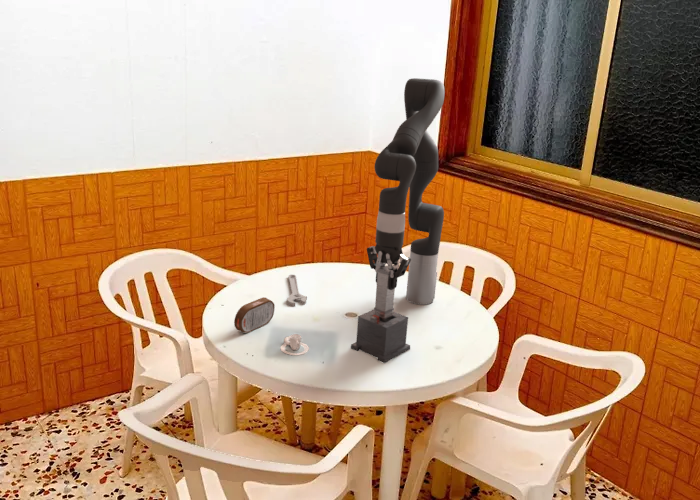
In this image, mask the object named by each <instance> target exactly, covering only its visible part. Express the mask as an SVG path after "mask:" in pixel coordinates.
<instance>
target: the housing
mask: <svg viewBox="0 0 700 500" xmlns="http://www.w3.org/2000/svg"><path fill="white" fill-rule="evenodd" d="M374 314H375V310H374V308H373V309H371V310H369V311H366V312H364V313H362V314H360V315H358V316H357V329H356V342H354V343H352V344H351V345H350V348H351V350H354V351H357V352H358V351H361V352H363V353H365V354H368V355H370V356H372V357H375V358H376V359H377V362H380V363H382V364H386V363H388V362H390V361H391V360H393V359H395V358H397V357H398V356H401V355H402V354H404V353H406V352H408V351H410V350H411V345H410V344H408V343H406V342H407V333H408V325H409V324H408V323H409V317H408V316H406V315H403V314H401V313H398V312H396V311H393V317H392V320H390V321H388V322H382V321H380V320H379V316H377V315H374Z"/></svg>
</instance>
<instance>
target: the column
mask: <svg viewBox="0 0 700 500" xmlns="http://www.w3.org/2000/svg"><path fill="white" fill-rule="evenodd" d="M389 279H390V271H389V269H388V265H385V266H383V267H381V268H378V275H377V283H376V289H375V290H376V291H375V302H374V303H375V304H374V308H373V309H374V310H375V314H374V315H377V316H379V320H380V321H382V322H388V321H390V320H392V317H393V312H394V302H395V289H396V288H395V289H393V290H389Z"/></svg>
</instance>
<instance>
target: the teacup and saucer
mask: <svg viewBox="0 0 700 500" xmlns="http://www.w3.org/2000/svg"><path fill="white" fill-rule="evenodd" d="M287 346H290V349H291V350H292V351H298V350H300V348H301V347H303V348H304V349H303V351H301V352H296V353H294V352H289V351H287V350H286V347H287ZM280 350H281V352H282V353H284V354H285V355H290V356H300V355H301V356H302V355H305V354H306V353H308V352H309V351H310V347H309V346H308V344H306V343H303V342H302V336H301V335H300V334H294V333H293V334H291V335H290V336H286V337H284V339H283V344H282V345H281V346H280Z"/></svg>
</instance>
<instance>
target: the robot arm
mask: <svg viewBox="0 0 700 500" xmlns="http://www.w3.org/2000/svg"><path fill="white" fill-rule="evenodd" d="M403 93H404V96H403V99H404V100H403V101H404V110H405V120H404V121H403V122H401V124H400V125H399V127H398V128H397V129H396V131H395V134H394V136H393V139H392V141H390V143H388V144H387V145H386V146H385V148H383V149H382V150H381V151H380V153H379V154H378V155H377V157H376V159H375V161H374V172H375V174H376V177H378V178H379V179H382V180H390V181H395V182H399V184H398V186H394V187H393V186H392V187H386V188H383V189H381V191H380V193H379V198H378V199H379V200H378V201H379V202H378V212H377V213H378V214H377V218H376V229H375V230H376V231H375V246H374V245H372V246H368V247H366V252H367V253H366V254H367V259H368V261H369V262H368V263H369V266H370V269H373V270H374V272H375V283H376V284H377V275H378V268H381V267H383V266H386V264H387V266H388V269H389V271H390V279H389V290H393V289H396V288H397V285H398V278H400V277H402V276H403V277H404V276H405V273H408V274H407V283H406V295H405V298H406V300H407V301H408V302H409V303H412V304H416V305H429V304H431V303H433V302H434V299H435V297H436V296H435V295H436V286H437V280H438V279H437V277H438V271H437V268H438V259H439V251H440V244H441V240H442V239H441V237H442V233H443V232H442V230H443V225H444V220H445V219H444V216H445V211H444V208H443V207H442V206H441V205H437V204H432V203H426V202H423V201H422V199H423V193H424V191H425V190H426V188H427V187H428V186H429V184H430V183H431V182H432V181H433V179H434V178H435V176H436V175H437V173H438V171H439V149H438V146H437V145H436V143H435V140H434V139H433V137H432V136H431V135H430V133H429V131H427V130H428V128H429V127H430V126H431V124H432V123H433V122H434V120H435V119H436V117H437V115H438V114H439V112H440V110H441V109H442V107H443V105H444V100H445V95H446V94H445V93H446V91H445V86H444V83H443V82H442V81H441V80H438V79H435V78H434V79H431V78H430V79H429V78H408V80H407V81H406V82H405V86H404V92H403ZM408 193H409V196H408ZM408 197H409V198H408ZM407 198H408V215H407V216H408V217H407V218H408V225H409V227H410V229H412V230H415V231H416V232H417V231H418V232H421V233H427V234H428V236H427V237H425V238H417V239H415V240H412V242H411V243H410V249H409V250H410V251H409V256H408V257H406V256H405V254H403V253H404V252H403V246H404V241H405V239H404V238H405V227H406V207H407ZM407 270H408V272H407Z"/></svg>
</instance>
